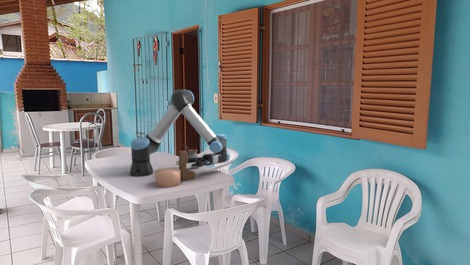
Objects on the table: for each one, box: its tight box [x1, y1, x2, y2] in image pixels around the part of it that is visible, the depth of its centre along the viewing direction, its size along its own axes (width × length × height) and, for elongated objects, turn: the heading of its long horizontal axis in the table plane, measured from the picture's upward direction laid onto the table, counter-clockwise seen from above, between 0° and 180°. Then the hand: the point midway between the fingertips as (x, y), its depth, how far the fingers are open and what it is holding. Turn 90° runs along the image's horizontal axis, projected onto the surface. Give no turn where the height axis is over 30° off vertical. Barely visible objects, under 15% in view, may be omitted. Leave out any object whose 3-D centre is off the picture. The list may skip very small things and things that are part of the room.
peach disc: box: [154, 167, 182, 188], centre depth 203 cm, size 15×15×8 cm
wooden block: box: [178, 150, 196, 182], centre depth 213 cm, size 9×4×18 cm, turn 120°
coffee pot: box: [183, 144, 200, 170], centre depth 246 cm, size 21×12×15 cm, turn 30°
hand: (181, 164), depth 210 cm, fingers open, 10 cm apart
